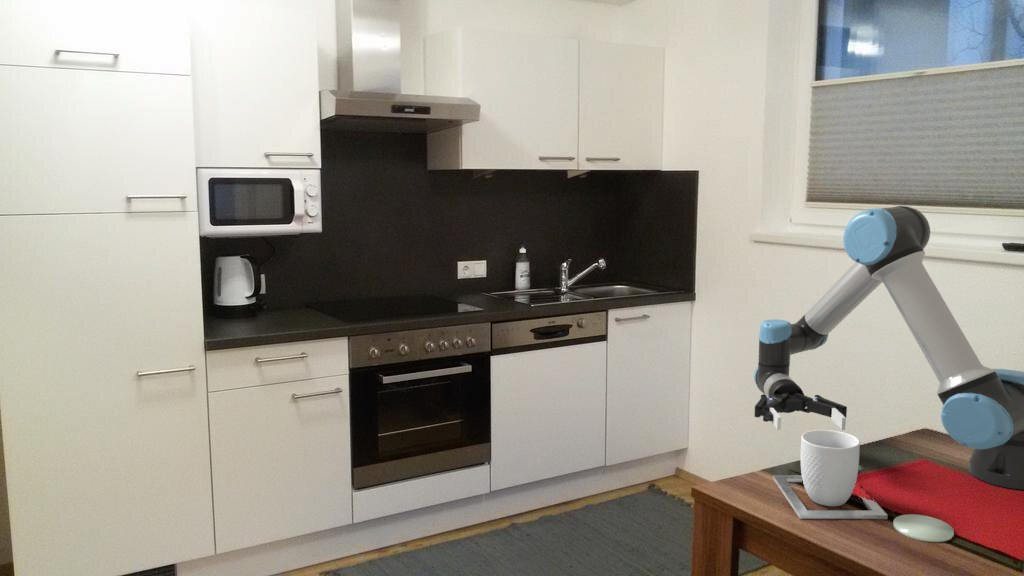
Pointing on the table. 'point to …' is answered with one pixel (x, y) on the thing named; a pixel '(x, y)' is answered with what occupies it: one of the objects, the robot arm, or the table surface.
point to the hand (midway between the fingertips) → (811, 423)
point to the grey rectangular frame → (803, 513)
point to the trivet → (923, 528)
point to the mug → (829, 465)
